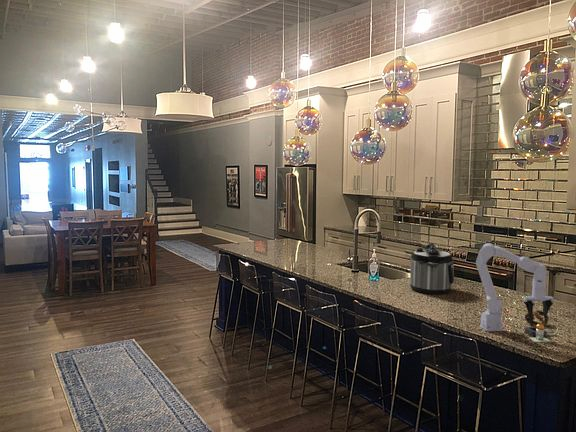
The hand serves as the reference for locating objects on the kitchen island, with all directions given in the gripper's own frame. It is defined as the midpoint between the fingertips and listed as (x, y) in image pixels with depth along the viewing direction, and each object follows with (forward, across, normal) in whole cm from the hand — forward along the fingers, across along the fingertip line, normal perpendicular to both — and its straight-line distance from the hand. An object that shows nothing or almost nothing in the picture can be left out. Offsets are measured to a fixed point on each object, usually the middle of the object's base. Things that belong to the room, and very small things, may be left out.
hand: (537, 315), depth 237 cm
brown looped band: (+10, +9, +16) cm, 21 cm away
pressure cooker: (+10, -19, +90) cm, 93 cm away
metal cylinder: (+10, -3, -7) cm, 12 cm away
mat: (+10, -3, -8) cm, 13 cm away
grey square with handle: (+10, +2, 0) cm, 10 cm away
